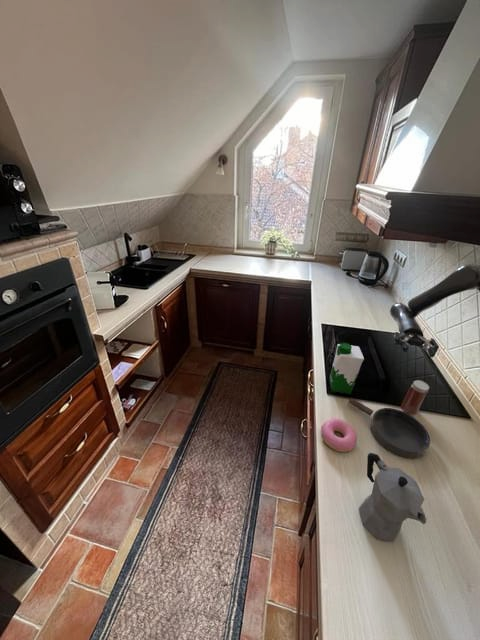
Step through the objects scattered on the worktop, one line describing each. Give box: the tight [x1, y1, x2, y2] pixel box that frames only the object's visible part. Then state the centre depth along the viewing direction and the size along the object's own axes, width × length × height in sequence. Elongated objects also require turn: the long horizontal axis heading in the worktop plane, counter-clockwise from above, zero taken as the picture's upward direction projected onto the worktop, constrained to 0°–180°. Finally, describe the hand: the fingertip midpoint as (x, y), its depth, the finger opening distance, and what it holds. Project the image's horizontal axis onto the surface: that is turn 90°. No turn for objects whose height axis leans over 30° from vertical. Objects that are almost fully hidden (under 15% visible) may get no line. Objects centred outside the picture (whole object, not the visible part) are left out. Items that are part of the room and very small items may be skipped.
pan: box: [369, 407, 431, 460], centre depth 82 cm, size 16×16×4 cm
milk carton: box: [328, 342, 365, 395], centre depth 96 cm, size 9×9×20 cm
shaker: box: [400, 379, 430, 416], centre depth 89 cm, size 5×5×12 cm
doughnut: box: [320, 417, 358, 453], centre depth 80 cm, size 11×11×4 cm
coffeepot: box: [358, 452, 427, 543], centre depth 59 cm, size 15×9×18 cm, turn 16°
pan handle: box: [347, 397, 374, 417], centre depth 90 cm, size 8×2×1 cm, turn 44°
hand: (419, 352), depth 93 cm, fingers open, 8 cm apart
